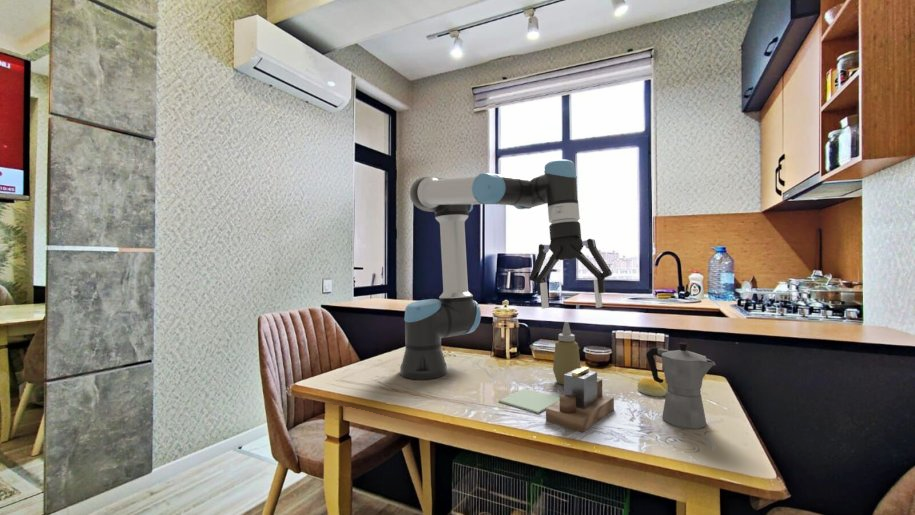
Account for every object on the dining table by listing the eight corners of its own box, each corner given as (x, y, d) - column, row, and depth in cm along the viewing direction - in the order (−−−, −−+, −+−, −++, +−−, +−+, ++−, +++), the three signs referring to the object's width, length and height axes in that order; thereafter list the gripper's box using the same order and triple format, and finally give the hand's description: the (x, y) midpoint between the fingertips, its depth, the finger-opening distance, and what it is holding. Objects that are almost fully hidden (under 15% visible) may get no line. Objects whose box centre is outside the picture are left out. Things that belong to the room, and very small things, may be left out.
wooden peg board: (582, 432, 88) (582, 400, 88) (545, 421, 94) (545, 390, 94) (614, 409, 101) (613, 381, 101) (579, 400, 107) (579, 374, 107)
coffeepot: (724, 425, 91) (724, 344, 90) (704, 436, 85) (704, 351, 85) (657, 404, 103) (656, 333, 103) (636, 413, 98) (635, 338, 98)
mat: (498, 401, 107) (498, 399, 107) (524, 389, 116) (524, 388, 116) (538, 413, 99) (538, 411, 99) (563, 400, 107) (563, 398, 107)
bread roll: (631, 388, 116) (631, 374, 116) (660, 386, 117) (660, 372, 117) (650, 398, 108) (649, 383, 108) (680, 396, 109) (680, 381, 109)
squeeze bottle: (582, 387, 117) (581, 325, 116) (553, 386, 118) (552, 324, 118) (579, 379, 124) (579, 320, 124) (552, 377, 126) (552, 319, 126)
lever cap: (564, 404, 97) (563, 371, 96) (578, 396, 102) (577, 364, 102) (584, 409, 93) (583, 375, 93) (597, 400, 98) (597, 368, 98)
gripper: (512, 227, 106) (518, 309, 105) (611, 213, 92) (620, 308, 91) (525, 229, 112) (531, 307, 111) (619, 216, 98) (627, 305, 97)
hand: (571, 307), depth 101 cm, fingers open, 13 cm apart
